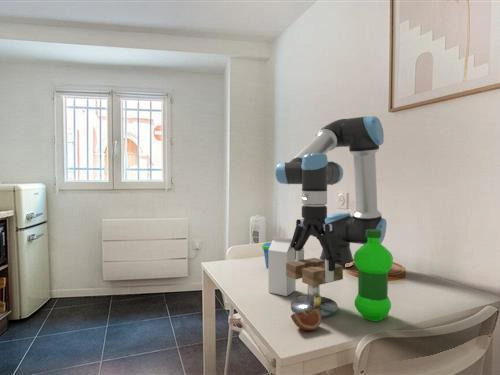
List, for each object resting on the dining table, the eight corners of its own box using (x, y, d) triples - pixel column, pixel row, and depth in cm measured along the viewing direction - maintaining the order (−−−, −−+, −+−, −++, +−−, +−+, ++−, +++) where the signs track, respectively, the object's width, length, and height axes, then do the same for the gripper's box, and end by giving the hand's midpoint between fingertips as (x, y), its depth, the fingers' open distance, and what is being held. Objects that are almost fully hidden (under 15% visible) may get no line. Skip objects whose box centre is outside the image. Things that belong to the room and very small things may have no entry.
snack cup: (258, 263, 154) (258, 241, 154) (280, 262, 156) (280, 240, 156) (267, 273, 139) (267, 248, 138) (291, 271, 141) (291, 247, 141)
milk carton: (286, 296, 112) (286, 240, 111) (268, 292, 116) (268, 238, 115) (295, 290, 118) (295, 236, 117) (277, 286, 122) (277, 235, 121)
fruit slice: (298, 337, 84) (299, 317, 84) (285, 326, 91) (285, 308, 90) (326, 330, 88) (326, 312, 88) (311, 320, 94) (311, 303, 94)
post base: (314, 296, 112) (314, 270, 112) (347, 311, 100) (347, 281, 100) (281, 305, 104) (281, 277, 104) (312, 322, 93) (312, 290, 92)
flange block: (314, 269, 110) (314, 257, 110) (342, 279, 100) (342, 265, 100) (286, 275, 104) (286, 262, 103) (312, 286, 94) (313, 272, 93)
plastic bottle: (364, 307, 103) (365, 226, 102) (398, 318, 95) (400, 230, 94) (346, 316, 97) (347, 230, 96) (381, 328, 89) (382, 235, 88)
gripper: (279, 202, 109) (279, 268, 110) (335, 209, 89) (335, 289, 90) (297, 201, 113) (297, 265, 114) (354, 207, 93) (354, 284, 94)
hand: (313, 276), depth 102 cm, fingers closed on flange block, 12 cm apart
